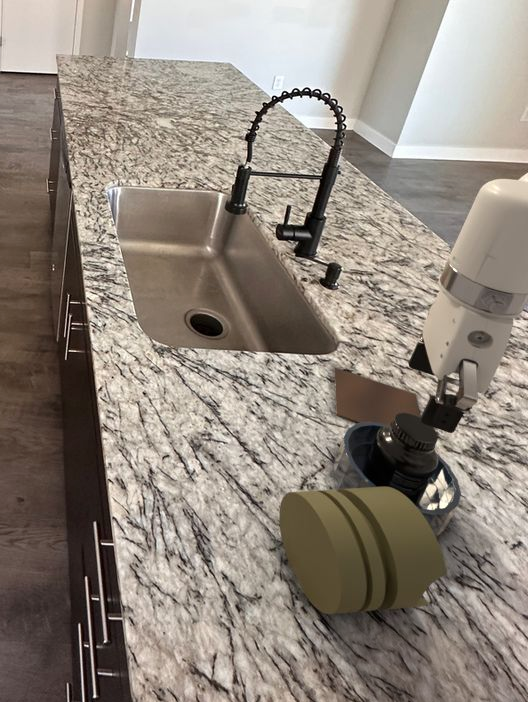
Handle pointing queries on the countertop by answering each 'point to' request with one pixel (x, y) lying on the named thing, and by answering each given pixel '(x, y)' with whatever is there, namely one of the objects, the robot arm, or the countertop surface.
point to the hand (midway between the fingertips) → (428, 396)
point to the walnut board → (370, 399)
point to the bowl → (348, 472)
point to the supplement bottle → (403, 456)
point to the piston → (359, 549)
